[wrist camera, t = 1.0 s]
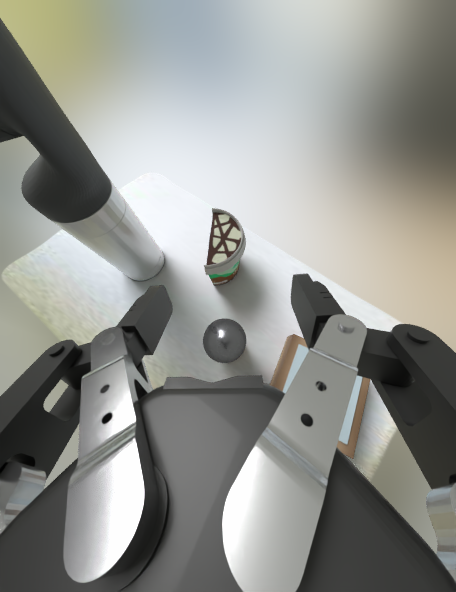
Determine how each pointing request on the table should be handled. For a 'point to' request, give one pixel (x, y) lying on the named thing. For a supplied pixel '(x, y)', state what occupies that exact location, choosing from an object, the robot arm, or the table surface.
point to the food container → (224, 247)
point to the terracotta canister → (224, 340)
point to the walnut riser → (347, 441)
